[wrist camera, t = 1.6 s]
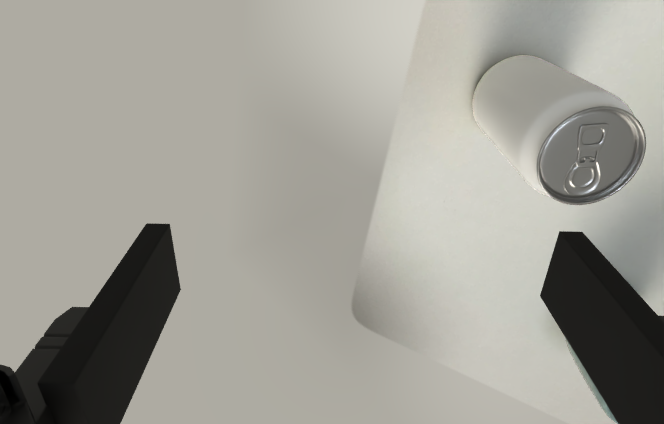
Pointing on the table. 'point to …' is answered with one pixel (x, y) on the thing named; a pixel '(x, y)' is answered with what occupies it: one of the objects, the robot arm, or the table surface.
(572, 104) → the can
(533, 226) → the table surface
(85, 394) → the robot arm
